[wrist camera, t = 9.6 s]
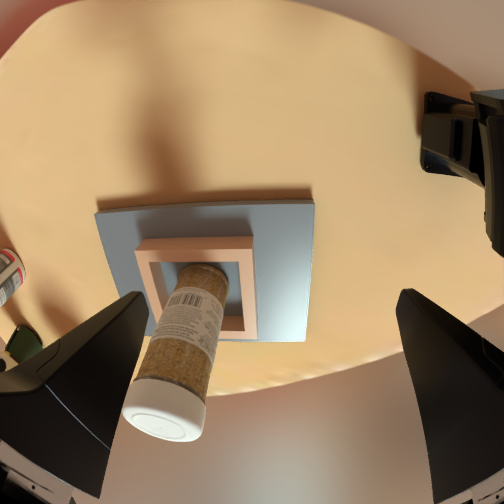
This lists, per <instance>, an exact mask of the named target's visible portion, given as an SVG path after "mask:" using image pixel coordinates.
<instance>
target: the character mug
mask: <svg viewBox="0 0 504 504" xmlns="http://www.w3.org/2000/svg"><path fill="white" fill-rule="evenodd" d="M18 327H19V325H18V326H17V328H16V329H15V331H14V333H13V334H12V336H11V338H10V340H9V342H8V343H7V345H6V347H5V351H4V352H3V351H2V350H0V373H1V372H5V371H7V370H9V369H11V368H13V367H15V366H16V365H18V364H20V363H21V362H23V361H25V360H26V359H28V358H30V357H31V356H33V355H35V354H36V353H38V352H40V351H41V350H43V348H42V346H41V344H40V342H39V341H38V339H37V337H36V336H35V335H34V334H33V333H32V332H31V331H30V330H29V329H28V328H26V327H25V326H22V327H21V328H20V330H17V329H18Z"/></svg>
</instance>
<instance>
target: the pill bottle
mask: <svg viewBox="0 0 504 504" xmlns="http://www.w3.org/2000/svg"><path fill="white" fill-rule="evenodd" d="M24 281H25V270H24V267H23V264H22V262H21V261H20V259H19V258H18V256H17V255H16V254H15V253H14V252H13V251H11V250H10V249H3V250H1V251H0V307H1V306H2V305H3V304H4V303H5V302H6V301H7V300H8V298H9V297H10V296H11V295H12V294H13V293H14V292H15V291H16V290H17V289H18V288H19V287H20V286H21V284H22V283H23V282H24Z"/></svg>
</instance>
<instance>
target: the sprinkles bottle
mask: <svg viewBox="0 0 504 504" xmlns="http://www.w3.org/2000/svg"><path fill="white" fill-rule="evenodd" d="M228 294H229V283H228V281H227V278H226V277H225V276H224V274H223V273H221V272H220V271H219V270H218V269H216V268H214V267H212V266H210V265H206V264H194V265H190V266H188V267H186V268H185V269H184V270H182V272H181V273H180V275H179V277H178V280H177V285H176V287H175V289H174V291H173V293H172V294H171V295H170V297H169V300H168V302H167V304H166V306H165V308H164V310H163V312H162V315H161V317H160V319H159V321H158V323H157V326H156V328H155V330H154V333H153V335H152V337H151V339H150V342H149V346H148V349H147V352H146V354H145V357H144V359H143V361H142V364H141V367H140V369H139V372H138V375H137V377H136V378H135V379H134V380H133V383H131V384H130V386H129V388H128V391H127V394H126V397H125V400H124V404H123V407H122V414H123V416H124V417H125V419H126V420H127V421H128V422H129V423H131V424H132V425H133V426H134V427H136V428H138V429H139V430H141V431H143V432H145V433H147V434H150V435H152V436H155V437H158V438H161V439H165V440H170V441H177V442H187V441H193V440H195V439H197V438H198V437H200V435H201V433H202V430H203V425H204V420H205V415H206V407H205V397H206V394H207V388H208V383H209V378H210V373H211V371H212V368H213V363H214V358H215V353H216V348H217V343H218V338H219V334H220V329H221V324H222V320H223V311H224V307H225V302H226V299H227V297H228Z"/></svg>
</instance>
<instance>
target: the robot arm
mask: <svg viewBox="0 0 504 504" xmlns="http://www.w3.org/2000/svg"><path fill="white" fill-rule="evenodd" d="M430 95H431V96H432V100H430ZM470 95H471V99H472V101H473V102H474V104H473V103H470V102H467V101H464V100H460V99H457V98H454V97H450V96H447V95H443V94H440V93H436V92H426V93H425V110H424V115H423V132H422V147H423V152H422V163H421V167H422V169H423V170H424V171H425V172H428V173H436V174H444V175H451V176H458V177H464V178H466V179H468V180H470V181H472V182H473V183H475V184H477V185H479V186H480V187H482V188H484V189H485V212H484V221H485V222H486V233H487V235H488V237H489V239H490V241H491V242H492V248H493V249H494V250H495V251H496V252H497V253H498V254H499V255H500V256H501V257H503V258H504V89H501V90H487V91H475V92H470ZM427 164H429V167H428V168H426V165H427ZM396 316H397V321H398V326H399V330H400V335H401V340H402V345H403V350H404V353H405V357H406V360H407V364H408V367H409V371H410V375H411V378H412V382H413V386H414V390H415V394H416V398H417V402H418V406H419V411H420V415H421V419H422V425H423V429H424V434H425V440H426V445H427V452H428V459H429V466H430V473H431V481H432V490H433V501H434V504H439V503H441V502H444V501H446V500H448V499H451V498H453V497H455V496H458V495H460V494H462V493H464V492H466V491H468V490H470V489H471V494H472V499H470V500H468V501H466V502H464V503H462V504H504V352H502V351H501V350H500V349H498V348H497V347H496V346H494V345H493V344H491V343H490V342H489V341H487V340H486V339H485V338H483V337H481V335H479V334H478V333H477V332H475V331H474V330H472V329H471V328H470V327H468V326H467V325H465V324H464V323H463V322H461V321H460V320H458V319H457V318H456V317H454V316H453V315H451V314H450V313H448V312H447V311H446V310H444V309H443V308H441V307H440V306H438V305H437V304H435V303H434V302H432V301H431V300H430V299H428V298H427V297H425V296H424V295H422V294H421V293H419V292H418V291H416V290H415V289H412V288H409V289H403V290H402V291H401V293H400V296H399V300H398V303H397V306H396ZM148 318H149V308H148V305H147V302H146V299H145V296H144V294H143V292H141V291H131V292H129V293H128V294H126V295H125V296H123V297H121V298H120V299H118V300H117V301H115V302H114V303H112V304H111V305H109V306H108V307H106V308H105V309H103V310H101V311H100V312H98V313H97V314H95V315H94V316H92V317H91V318H89V319H88V320H86V321H85V322H83V323H82V324H80V325H79V326H77V327H76V328H74V329H73V330H71V331H70V332H68V333H67V334H65V335H64V336H62V337H61V339H60V338H59V339H58V340H56V341H55V342H54V343H52V344H51V345H49V346H48V347H46V348H44V349H43V350H41V351H40V352H38V353H36V354H35V355H33V356H31V357H30V358H28V359H26V360H25V361H23V362H21V363H20V364H18V365H16V366H15V367H13V368H11V369H9V370H7V371H5V372H1V373H0V504H76V503H75V501H74V499H73V497H71V495H72V492H73V489H74V488H75V489H77V490H79V491H81V492H84V493H86V494H88V495H90V496H93V497H95V498H98V499H99V498H100V494H101V489H102V484H103V480H104V476H105V471H106V467H107V463H108V458H109V455H110V449H111V446H112V442H113V439H114V435H115V431H116V427H117V424H118V421H119V417H120V414H121V410H122V407H123V404H124V400H125V397H126V394H127V391H128V387H129V384H130V381H131V378H132V375H133V372H134V369H135V366H136V363H137V360H138V357H139V354H140V351H141V347H142V343H143V339H144V334H145V330H146V326H147V322H148Z"/></svg>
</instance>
